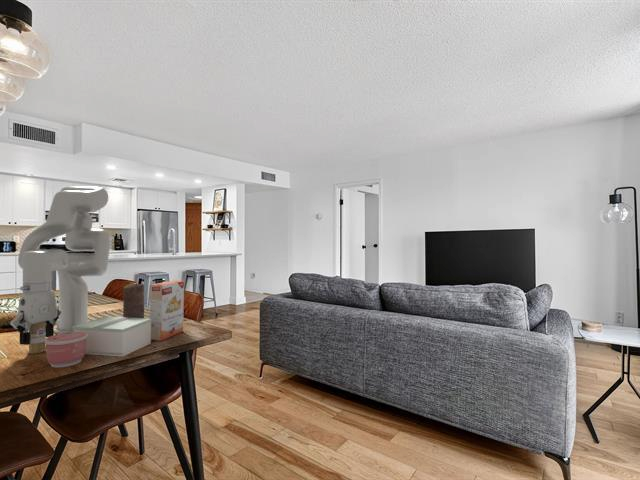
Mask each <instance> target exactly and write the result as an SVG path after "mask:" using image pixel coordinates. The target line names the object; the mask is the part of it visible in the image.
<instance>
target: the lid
mask: <svg viewBox="0 0 640 480" xmlns="http://www.w3.org/2000/svg"><path fill="white" fill-rule="evenodd" d="M151 321H152V319H149V317H147V318H145V317H144V318H133V317H123V316H103V317H100V318H96V319H93V320H88V321H87V322H86V323H82V324H79V325H76V326H72V329H77V330H94V331H111V332H125V331H127V330H130V329H132V328H135V327H138V326H140V325H143V324H146V323H148V322H151Z"/></svg>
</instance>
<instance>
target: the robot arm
mask: <svg viewBox="0 0 640 480" xmlns="http://www.w3.org/2000/svg"><path fill="white" fill-rule="evenodd" d="M108 201H109V194H108V191H107V190H106V189H105V188H104V187H99V186H84V185H83V186H82V185H81V186H79V185H78V186H77V185H75V186H74V185H73V186H64V187H62V188H61V189H60V191H58V192H56V193H55V194H54V195H53V199H52V202H51V205H50V209H49V212H48V215H47V218H46V221H45V222H44V223H43V224H41V225H39V226H38V227H36V228H35V229H33V231H31V233H29V234H28V235H27V236H26V237H25V238H24V240H23V241H22V245H21V247H20V250H19V253H18V256H17V257H18V258H17V263H18V266H19V268H20V269H21V270H22V285H21V286H20V288H19V290H20V291H22V293H21V294H20V297H19V301H18V307H17V308H18V309H17V315H16V316H15V317H14V318H13V319H11V320H10V323H9V324H10V326H12V327H13V329H14V330H15V331H17V333H19V345H24V346H25V345H26V346H29V344H30V332H29V328H30V326H31V324H37V323H41V322H45V326H46V338H48V337H50V336H54V334H56V335H58V334H63V333H71V332H74V329H72V326H76V325H79V324H82V323H86V322H88V293H89V292H88V288H89V287H88V285H87V282H86V281H85V280H84V279H83V277H100V276H103V275H104V274H106V272H107V269H108V265H109V264H108V263H109V256H110V247H111V237H110V234H109V232H108V231H107V229H102V228H93V218H92V215H91V214H90V213H95V212H98V211H99V210H102V209H103V208H104V207H105V206H106V205H107V204H108ZM63 235H65V238H64V239H65V240H64V246H65V249H67V250H70V251H72V252H71V253H69V252H67V251H66V250H64V249H45V248H44V249H43V248H42V249H39V247H40V246H41V245H42V244H44V243H45V242H47V241H49V240H51V239H55V238H57V237H60V236H61V237H62V236H63ZM73 251H75V252H74V253H73ZM84 252H87V253H84ZM89 252H90V253H89ZM54 271H57V277H58V278H57V279H58V292H59V293H58V306H57V297H56V293H55V291H54V290H53V288H52V287H53V285H52V284H53V273H52V272H54ZM54 326H56V328H55V327H54Z"/></svg>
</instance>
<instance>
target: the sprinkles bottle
mask: <svg viewBox="0 0 640 480" xmlns="http://www.w3.org/2000/svg"><path fill="white" fill-rule="evenodd" d="M45 325H46V324H45V322H41V323H37V324H31V326H30V328H29V330H28V332H30V344H29V345H28V354H31V355H32V354H33V355H34V354H40V353H43V352H46V344H45V339H46V338H47V337H46V326H45Z"/></svg>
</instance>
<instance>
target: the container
mask: <svg viewBox="0 0 640 480" xmlns="http://www.w3.org/2000/svg"><path fill="white" fill-rule="evenodd" d="M86 338H87V334H86V333H83V332H71V333H63V334H55V335H54V336H50V337H46V339H45V348H46V350H45V357H46V361H47V362H48V364H50V366H51V367H52V368H65V367H66V368H67V367H71V366H74V365H77V364H80V363H82V359H83V358H84V357H85V356H86V354H85V353H86Z"/></svg>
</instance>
